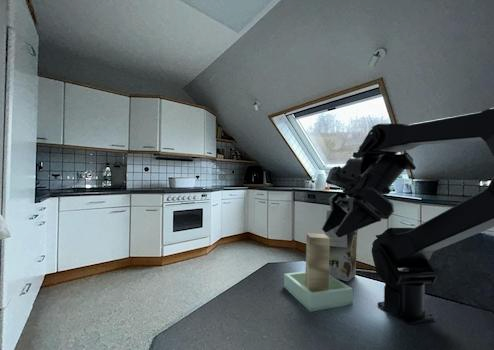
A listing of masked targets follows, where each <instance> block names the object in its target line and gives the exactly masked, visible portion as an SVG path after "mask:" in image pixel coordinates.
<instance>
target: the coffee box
mask: <svg viewBox="0 0 494 350" xmlns="http://www.w3.org/2000/svg"><path fill="white" fill-rule="evenodd" d="M330 211H331V210H326V217H325V221H326V220H327V217H328V215H329V213H330ZM347 213H348V212H347ZM338 227H339V226H337V227H335V228H334V229H332V230H330V231H328V232H324V234H325V235H326V236H328V237H329V238H330V251H329V275H330V276H332V277H334V278H336V279H337V280H339V281H340V280H341V281H344V282H349V281H350V280H351V279H353V278H354V277H356V272H357V249H358V248H357V247H358V231H359V229H358V230H356V231H354V232H351V233H349V234H347V235H344V236H342V237H338V236H337V235H336V234H335V232H336V230H337V229H338Z"/></svg>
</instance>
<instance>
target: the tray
mask: <svg viewBox="0 0 494 350" xmlns="http://www.w3.org/2000/svg"><path fill="white" fill-rule="evenodd" d="M305 277H306V270H305V271H298V272H287V273H283V287H284V289H285V290H286V291H287V292H288V293H290V294H291V295H292V297H294V298H295V299H296V300H297V301H298V302H299V303H300V304H302V306H303V307H304V308H306V309H307V310H308V311H309V312H316V311H323V310H328V309H332V308H333V309H334V308H339V307H345V306H349V305H353V304H354V303H353V302H354V288H352V287H351V286H349V285H347V284H345V283H344V282H342V280H341V281H340V279H337V278H334V277H332V276H330V275H329V290H326V291H319V292H310V291H309V290H308V289H307V288H305Z"/></svg>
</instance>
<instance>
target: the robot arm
mask: <svg viewBox="0 0 494 350" xmlns="http://www.w3.org/2000/svg"><path fill="white" fill-rule="evenodd" d="M477 141H478V142H481V141H484V142H485V143H486V145H487V147H488V149H489V150H490V152H491V154H492V156H493V157H494V107H490V108H488V109H485V110H482V111H476V112H472V113H465V114H460V115H455V116H449V117H442V118H437V119H432V120H426V121H421V122H415V123H410V124H409V123H388V122H387V123H386V122H384V123H383V122H382V123H380V122H379V123H375V124H374V125H373V126H372V127H371V129H370V130H369V131H368V133H367V134H366V136H365V138H364V140H363V142H362V143H361V145H360V146H359V147H358V150H357V151H355V152H354V151H353V154H352V157H350V158H348V160H347V161H346V162H345V165H344V166H342V167H341V166H340V165H338V166H334V167H332V168H330V169H329V172H328V174H327V177H326V179H325V183H326V184H328V185H333V186H335V187H337V188H340V189H342V192H337V193H332V195H331V196H330V197H329V198H328V204H329V207H330V210H329V211H330V213H329V215H328V217H327V220H326V219H325V223H323V226H322V228H321V230H322V231H323V232H324V233H325V232H328V231H330V230H332V229H334V228H335V227H337V226H339V227H338V229H337V230H336V232H335V234H336V235H337V236H338V237H342V236H344V235H347V234H349V233H351V232H354V231H356V230H358V231H359V230H360V229H364V228H366V227H368V226H370V225H373V224H374V223H377V222H382V220H388V219H389V218H390V217H391V216H392V214H393V213H394V212H395V211H394V204H393V202H391V201H390V200H389V199H387V198H386V197H385V196H384V195H389V194H390V193H391V192H392V190H391V189H390V188H391V186H392V185H393V184H394V183H395V181H396V180H397V179H398V178H399V177H400V175H402V173H403V172H404V171H405V170H408V171H409V170H410V171H413V170H416V169H417V166H416V165H415V163H414V159H413V158H412V156H411V155H410V154H409V152H405V151H410V150H413V149H416V148H417V147H419V146H424V145H435V144H437V145H438V144H449V143H464V142H465V143H466V142H477ZM401 152H404V153H401ZM398 153H399V154H398ZM347 212H348V213H347ZM492 228H494V176H493V177H492V179H491V181H490V182H489V183H488V185H487V187H486V188H484V189H483V190H481V191H480V192H478V193H477V194H474V195H471V197H468V198H467V199H465V200H464V201H461V202H460V203H458V204H456V205H454V206H453V207H451V208H449V209H447V210H445V211H444V212H441V213H440V214H438V215H436V216H434V217H431V218H430V219H429V220H426V221H425V222H423V223H421V224H419V225H417V226H416V227H389V228H387V229H386V230H384V231H383V232H382V233H381V234H378V235H377V234H375V237H376V239H374V240H373V242H372V245H371V246H372V247H371V255H372V259H373V264H374V268H375V272H376V273H375V274H376V276H378V277H380V278H381V281H384V287H383V289H384V290H383V293H384V294H383V301H378V302H377V307H380V308H381V309H383V310H385V311H386V312H388V313H389V314H391V315H393V316H395V317H396V318H397V319H399V320H401V321H403V322H404V323H406V324H408V325H416V324H420V323H423V322H428V321H431V320H434V319H435V316H434V315H433V314H431V313H430V312H427V311H426V310H425V309H426V308H425V307H426V296H425V295H426V293H425V292H426V284H436V282H437V279H438V277H439V272H438V271H437V270H436V268H435V267H434V266H433V265H432V263H431V262H430V259H431V257H432V255H433V253H434V252H436V251H438V250H441V249H442V248H445V247H448V246H450V245H453V244H455V243H458V242H460V241H462V240H465V239H468V238H469V237H473V236H475V235H477V234H480V233H483V232H485V231H488V230H489V229H492ZM399 269H408V270H399Z"/></svg>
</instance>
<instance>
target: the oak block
mask: <svg viewBox="0 0 494 350" xmlns="http://www.w3.org/2000/svg"><path fill="white" fill-rule="evenodd" d="M305 249H306V250H305V271H306V277H305V288H307V289H308V290H309V291H310V292H319V291H326V290H329V251H330V238H329V237H328V236H326V235H325V233H313V232H307V233H306V247H305Z"/></svg>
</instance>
